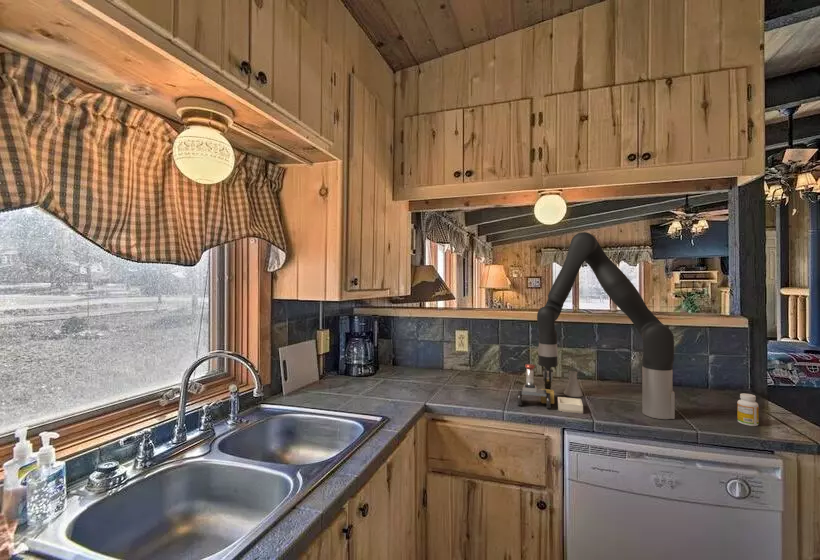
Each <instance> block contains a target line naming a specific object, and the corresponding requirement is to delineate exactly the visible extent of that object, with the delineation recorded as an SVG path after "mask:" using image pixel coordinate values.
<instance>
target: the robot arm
mask: <svg viewBox="0 0 820 560" xmlns="http://www.w3.org/2000/svg"><path fill="white" fill-rule="evenodd" d="M584 263H586V264H587V265H588V266H589V267H590V269H591V271H592V272H593V273H594V276H595V277H596V279H597V281H598V283H599V285H600V286H601V288H602V289H603V291H604V292H605V293H606V295H607V296H608V297H609V299H610V300H611V302H613V303H614V304H615V306H616V307H618V308H619V310H621V311H622V312H623V313H624V314H625V315H626V316H627V318H629V320H630V322H632V324H633V326H634V327H635V329H636V330H637V331H638V333H639V335H640V337H641V339H642V344H643V345H642V348H643V349H642V360H641V363H642V365H641V367H642V372H641V373H642V378H641V380H642V381H641V383H642V387H641V388H642V389H641V390H642V394H641V396H642V397H641V398H642V399H641V400H642V404H641V405H642V406H641V408H642V410H641V411H642V415H645V416H647V417H649V418H653V419H659V420H675V418H676V415H675V414H676V412H675V411H676V407H675V406H676V405H675V404H676V403H675V401H676V400H675V397H676V396H675V391H674V390H673V385H674V384H673V381H674V379H673V377H674V376H673V375H674V374H673V371H674V370H673V365H674V359H675V358H674V357H675V356H674V355H675V338H674V333H673V332H672V330H671V329H670V328H669V327H668V326H666V325H665V324H663V322H662V321H660V319H659V318H657V317H656V315H655V314H654V313H653V312H652V311H651V310H650V309H649V307H648V305H646V303H645V301H644V298H643V297H642V295H641V294H640V292H639V291H638V289H637V288H636V286H635V285H634V284H633V283H632V282H631V280H630V279H629V278H628V276H627V275H626V274H625V273H624V272H623V271H622V270H621V269H620V268H619V267H618V266H617V264H615V263H614V262H613V261H612V260H611V259H610V258H609V257H608V256H607V254H606V253H605V251H604V249H603V248H602V247H601V244H600V243H599V241H598V240H597V237H596V236H595V235H593V234H592V233H591V232H590V233H589V232H587V231H586V232H585V231H584V232H583V231H581V232H579V233H576V234H574V236H572V238H571V240H570V245H569V248H568V251H567V254H566V258H565V260H564V262H563V265H562V266H561V269H560V271H559V273H558V275H557V276H556V279H555V280H554V282H553V284H552V286H551V288H550V290H549V291H548V294H547V297H548V298H547V301H546V302H545V305H544V306H542V307H540V308H539V309H538V311H537V315H536V319H537V320H536V321H537V326H538V333H539V334H538V347H537V348H538V350H537V352H538V355H537V356H538V357H537V359H538V362H537V363H538V364H537V365H538V366H540V367H544V368H543V369H542V375H543V376H542V377H543V382H544V383H543V385H544V389H550V390H552V383H553V376H554V370H553V369H552V368H557V367H558V365H559V363H558V358H559V357H558V354H559V353H558V352H559V351H558V349H559V348H558V333H557V330H555V329H556V327H555V326H556V325H555V322H556V321H557V320H558V318H559V317H560V315H561V312H562V310H563V307H564V303H566V300H567V298H568V297H569V295H570V293H571V290H572V289H573V286H574V285H575V281H576V279H577V276H578V274H579V271H580V269H581V267H582V266H583V265H584Z"/></svg>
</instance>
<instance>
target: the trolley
mask: <svg viewBox="0 0 820 560" xmlns="http://www.w3.org/2000/svg"><path fill="white" fill-rule="evenodd" d="M523 395H525V396H526V395H527V396H537V397H541V396H545V397H546V403H545V404H546V409H549V410H551V405H552V404H551V399H550V393H546V390H545V388H537V385H535V384H534V388H526V383H525V384H523V387H522V389H521V390H520V389H519V390H518V392H517V406H523Z"/></svg>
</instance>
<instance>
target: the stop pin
mask: <svg viewBox="0 0 820 560" xmlns="http://www.w3.org/2000/svg"><path fill="white" fill-rule="evenodd" d="M524 366H525V369H526V371H525V373H526V374H525V377H526V381H525V382H526V383H525V384H526V388H534V385H535V384H534V383H535V382H534V381H535V378H534V376H535V375H534V374H535V372H534V371H535V368H536V365H535V364H534V363H533V364H532V363H525V365H524Z"/></svg>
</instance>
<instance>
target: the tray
mask: <svg viewBox="0 0 820 560" xmlns="http://www.w3.org/2000/svg"><path fill="white" fill-rule="evenodd" d="M557 411H558V412H561V411H562V412H564V413H570V414H571V413H573V414H584V405H583V401H582V398H577V397H565V396H557Z"/></svg>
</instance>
